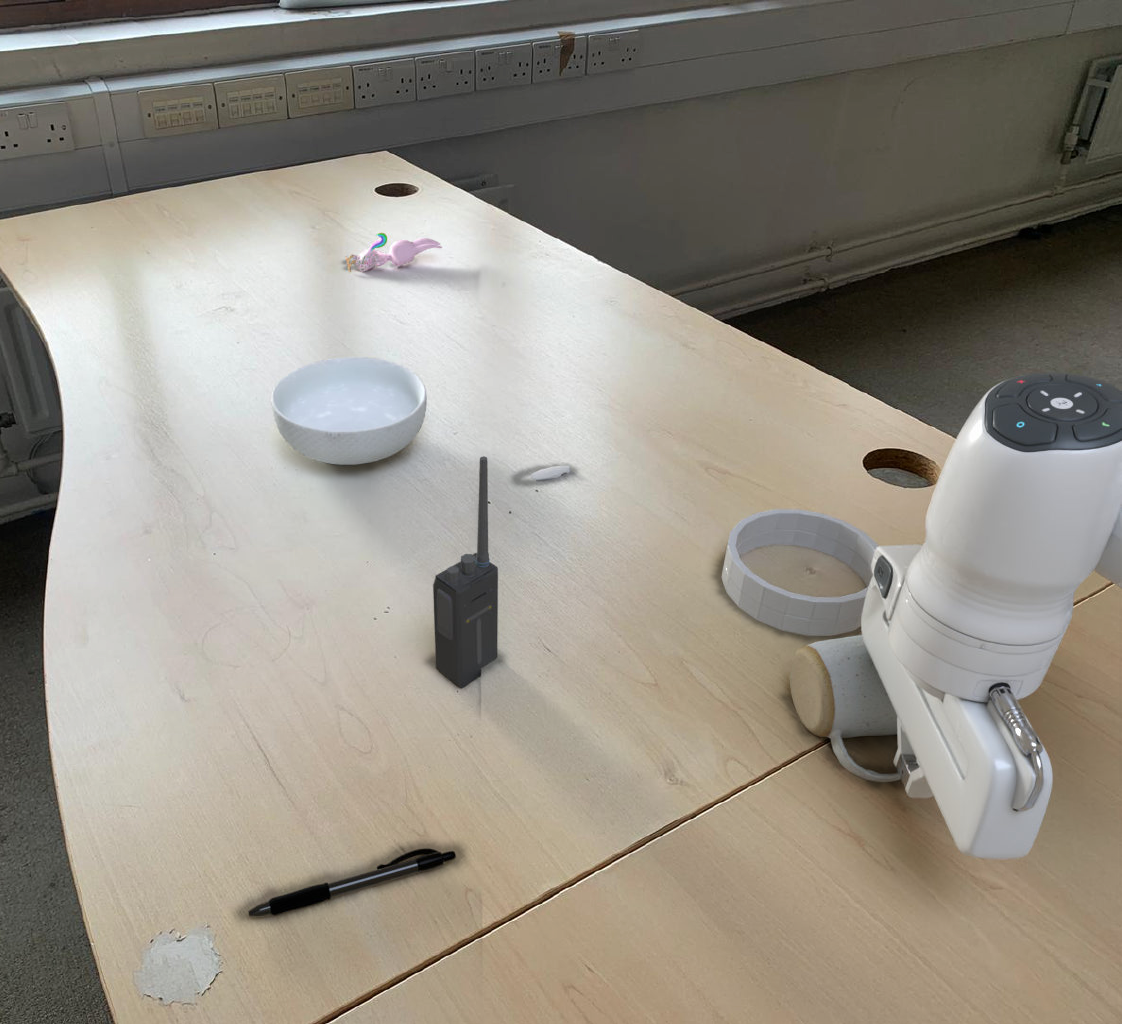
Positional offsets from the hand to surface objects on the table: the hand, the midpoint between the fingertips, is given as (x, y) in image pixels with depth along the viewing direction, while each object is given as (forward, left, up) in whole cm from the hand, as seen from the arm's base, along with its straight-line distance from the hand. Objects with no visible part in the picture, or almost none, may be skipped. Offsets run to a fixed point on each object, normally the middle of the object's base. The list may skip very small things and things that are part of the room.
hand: (912, 781), depth 68 cm
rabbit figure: (+43, -103, -4) cm, 112 cm away
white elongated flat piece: (+23, -42, -4) cm, 48 cm away
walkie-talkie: (+31, -14, -4) cm, 34 cm away
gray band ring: (+1, -24, -3) cm, 24 cm away
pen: (+38, +7, -3) cm, 39 cm away
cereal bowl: (+44, -49, -4) cm, 66 cm away
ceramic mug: (+1, -7, -4) cm, 8 cm away
